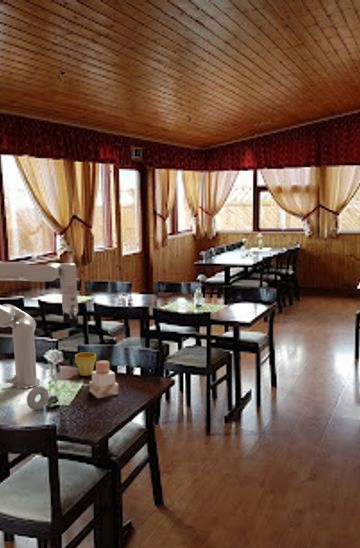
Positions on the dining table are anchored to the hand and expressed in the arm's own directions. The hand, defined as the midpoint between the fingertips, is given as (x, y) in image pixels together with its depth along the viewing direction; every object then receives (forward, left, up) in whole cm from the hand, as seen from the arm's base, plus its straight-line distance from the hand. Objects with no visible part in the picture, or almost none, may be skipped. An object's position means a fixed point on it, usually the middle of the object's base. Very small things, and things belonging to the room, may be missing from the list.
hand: (70, 324), depth 261 cm
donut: (-24, -26, -28) cm, 45 cm away
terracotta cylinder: (+7, -22, -19) cm, 29 cm away
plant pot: (+10, +8, -28) cm, 31 cm away
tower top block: (+7, -22, -24) cm, 33 cm away
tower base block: (+7, -22, -29) cm, 37 cm away
